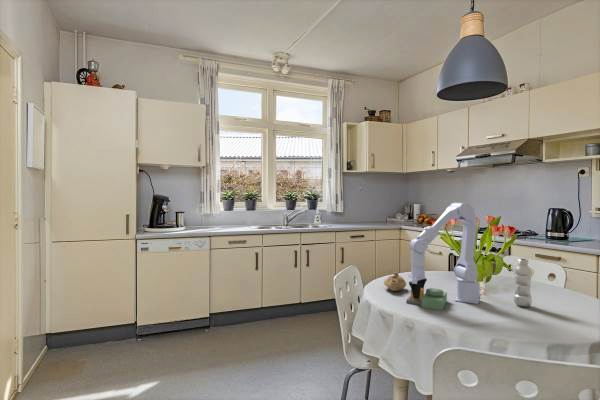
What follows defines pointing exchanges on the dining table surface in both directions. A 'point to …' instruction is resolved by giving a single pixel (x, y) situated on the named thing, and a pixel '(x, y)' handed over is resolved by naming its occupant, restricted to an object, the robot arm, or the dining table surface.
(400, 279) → the oil lamp
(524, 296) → the plastic bottle
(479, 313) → the dining table surface
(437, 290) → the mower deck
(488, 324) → the dining table surface
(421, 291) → the chute block
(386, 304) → the dining table surface
